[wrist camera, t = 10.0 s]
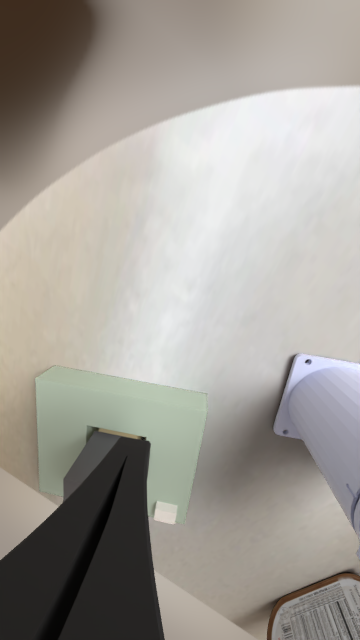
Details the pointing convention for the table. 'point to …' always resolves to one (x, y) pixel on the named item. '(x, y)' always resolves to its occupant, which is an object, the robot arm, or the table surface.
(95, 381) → the socket panel
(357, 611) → the tin
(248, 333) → the table surface
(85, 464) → the plug
